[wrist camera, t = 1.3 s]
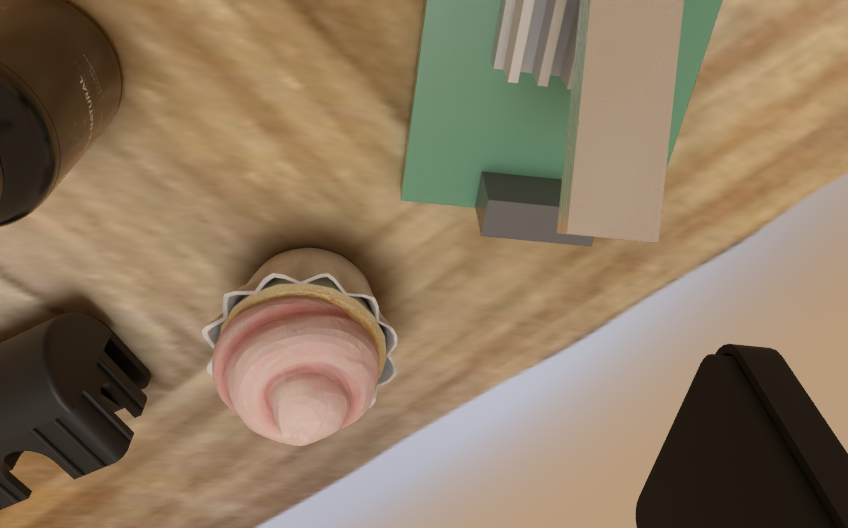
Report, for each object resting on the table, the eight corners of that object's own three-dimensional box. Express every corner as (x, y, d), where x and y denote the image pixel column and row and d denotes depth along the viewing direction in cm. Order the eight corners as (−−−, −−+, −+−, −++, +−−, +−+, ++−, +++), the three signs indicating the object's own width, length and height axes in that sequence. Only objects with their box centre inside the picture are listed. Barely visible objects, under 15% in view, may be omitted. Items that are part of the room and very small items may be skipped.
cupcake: (192, 239, 38) (137, 371, 30) (375, 202, 37) (371, 326, 29) (253, 377, 43) (220, 524, 35) (415, 347, 42) (421, 489, 34)
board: (467, -334, 26) (490, -366, 20) (795, -277, 27) (906, -291, 22) (400, 185, 37) (402, 264, 31) (639, 209, 38) (685, 289, 32)
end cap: (78, 280, 39) (26, 366, 33) (162, 373, 43) (128, 465, 37) (-70, 351, 41) (-144, 443, 35) (22, 434, 45) (-32, 530, 39)
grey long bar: (600, -220, 25) (618, -251, 23) (688, -206, 25) (711, -236, 23) (554, 233, 25) (568, 233, 24) (641, 241, 26) (661, 242, 24)
